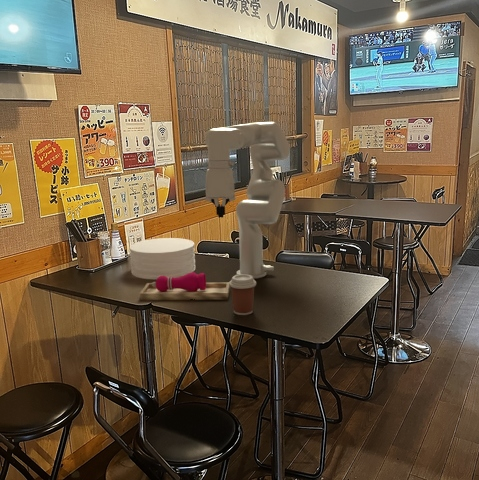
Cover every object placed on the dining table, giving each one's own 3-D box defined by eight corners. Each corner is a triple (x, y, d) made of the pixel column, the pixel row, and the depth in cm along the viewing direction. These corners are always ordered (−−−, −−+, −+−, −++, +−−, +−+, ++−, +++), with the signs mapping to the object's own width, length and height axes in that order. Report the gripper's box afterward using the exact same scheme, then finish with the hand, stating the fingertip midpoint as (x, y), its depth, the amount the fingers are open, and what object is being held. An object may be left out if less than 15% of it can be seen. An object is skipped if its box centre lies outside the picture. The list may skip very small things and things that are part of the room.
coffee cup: (262, 310, 161) (261, 276, 158) (245, 318, 154) (244, 283, 152) (241, 304, 167) (240, 271, 164) (224, 312, 160) (222, 278, 157)
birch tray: (229, 288, 184) (229, 282, 184) (227, 299, 173) (227, 292, 172) (147, 289, 186) (147, 283, 185) (139, 300, 174) (139, 293, 174)
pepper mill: (204, 268, 179) (152, 271, 181) (202, 278, 173) (148, 281, 175) (206, 284, 183) (155, 287, 184) (204, 295, 176) (151, 297, 178)
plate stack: (125, 266, 219) (123, 242, 216) (183, 258, 230) (182, 235, 228) (139, 283, 194) (137, 256, 191) (204, 273, 205) (203, 247, 203)
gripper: (240, 164, 171) (242, 214, 175) (199, 165, 172) (201, 215, 176) (240, 165, 164) (241, 218, 168) (196, 166, 165) (198, 219, 169)
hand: (220, 216), depth 172 cm, fingers closed
